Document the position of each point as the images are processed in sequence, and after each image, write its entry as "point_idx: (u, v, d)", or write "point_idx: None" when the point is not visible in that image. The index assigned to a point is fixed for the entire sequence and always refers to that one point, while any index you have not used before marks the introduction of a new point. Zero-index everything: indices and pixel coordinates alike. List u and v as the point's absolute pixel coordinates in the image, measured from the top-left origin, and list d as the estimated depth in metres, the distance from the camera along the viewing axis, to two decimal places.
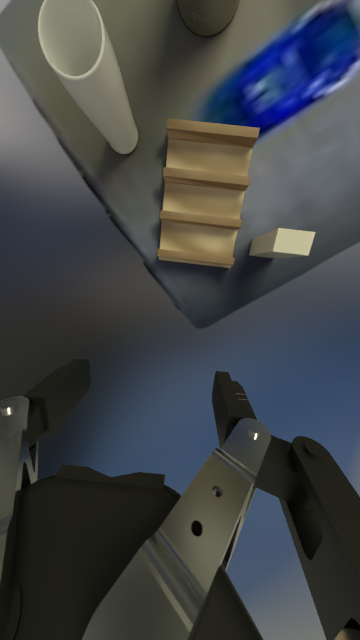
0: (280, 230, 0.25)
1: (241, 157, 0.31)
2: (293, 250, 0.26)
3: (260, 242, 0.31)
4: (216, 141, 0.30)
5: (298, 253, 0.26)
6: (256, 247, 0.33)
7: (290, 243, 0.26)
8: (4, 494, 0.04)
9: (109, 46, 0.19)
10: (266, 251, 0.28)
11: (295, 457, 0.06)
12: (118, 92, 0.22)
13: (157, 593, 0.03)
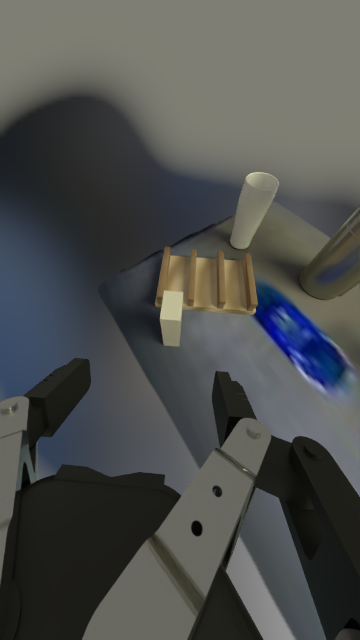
0: (181, 293, 0.28)
1: (239, 304, 0.39)
2: (164, 306, 0.27)
3: None
4: (245, 285, 0.40)
5: (161, 310, 0.27)
6: None
7: (170, 302, 0.28)
8: (4, 494, 0.04)
9: (263, 196, 0.36)
10: None
11: (295, 457, 0.06)
12: (250, 210, 0.39)
13: (157, 593, 0.03)
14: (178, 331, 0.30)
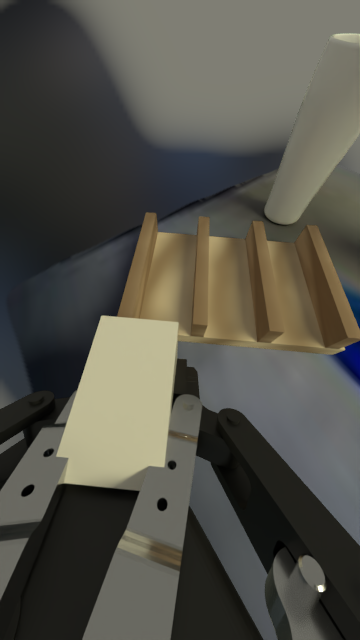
0: (170, 329, 0.07)
1: (305, 331, 0.18)
2: (90, 393, 0.06)
3: None
4: (313, 290, 0.19)
5: (72, 421, 0.06)
6: None
7: (120, 375, 0.06)
8: (46, 489, 0.04)
9: None
10: None
11: (222, 429, 0.07)
12: (330, 125, 0.18)
13: (142, 579, 0.03)
14: None
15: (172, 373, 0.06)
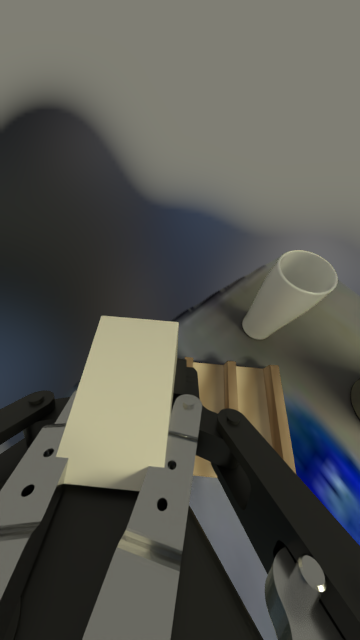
0: (170, 329, 0.07)
1: None
2: (90, 393, 0.06)
3: None
4: (272, 427, 0.25)
5: (72, 421, 0.06)
6: None
7: (120, 375, 0.06)
8: (46, 489, 0.04)
9: (310, 300, 0.20)
10: None
11: (222, 430, 0.07)
12: (282, 312, 0.23)
13: (142, 579, 0.03)
14: None
15: (172, 373, 0.06)
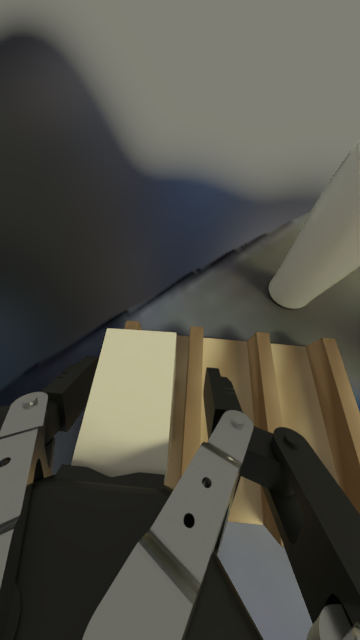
0: (169, 339, 0.08)
1: None
2: (101, 398, 0.07)
3: None
4: (332, 435, 0.15)
5: (85, 424, 0.06)
6: None
7: (126, 381, 0.07)
8: (15, 490, 0.04)
9: None
10: None
11: (276, 447, 0.07)
12: (357, 241, 0.14)
13: (154, 588, 0.03)
14: None
15: (172, 379, 0.07)
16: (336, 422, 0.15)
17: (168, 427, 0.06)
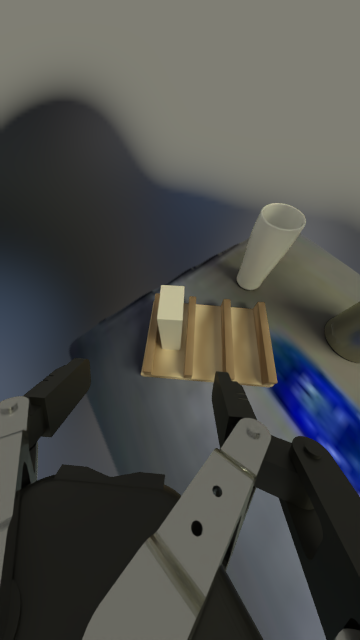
0: (182, 288, 0.24)
1: (251, 374, 0.30)
2: (162, 303, 0.23)
3: None
4: (259, 347, 0.31)
5: (159, 309, 0.22)
6: None
7: (169, 299, 0.23)
8: (4, 494, 0.04)
9: (285, 237, 0.27)
10: None
11: (295, 457, 0.06)
12: (265, 252, 0.30)
13: (157, 594, 0.03)
14: (179, 333, 0.25)
15: (183, 298, 0.23)
16: (260, 340, 0.31)
17: (182, 309, 0.22)
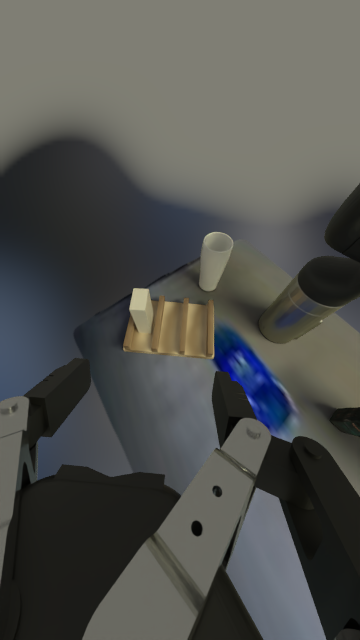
0: (147, 290, 0.37)
1: (200, 349, 0.43)
2: (133, 299, 0.36)
3: None
4: (206, 331, 0.45)
5: (131, 303, 0.36)
6: None
7: (138, 297, 0.36)
8: (4, 494, 0.04)
9: (218, 256, 0.40)
10: None
11: (295, 457, 0.06)
12: (209, 265, 0.43)
13: (157, 593, 0.03)
14: (146, 319, 0.38)
15: (147, 297, 0.36)
16: (207, 326, 0.44)
17: (145, 303, 0.36)
